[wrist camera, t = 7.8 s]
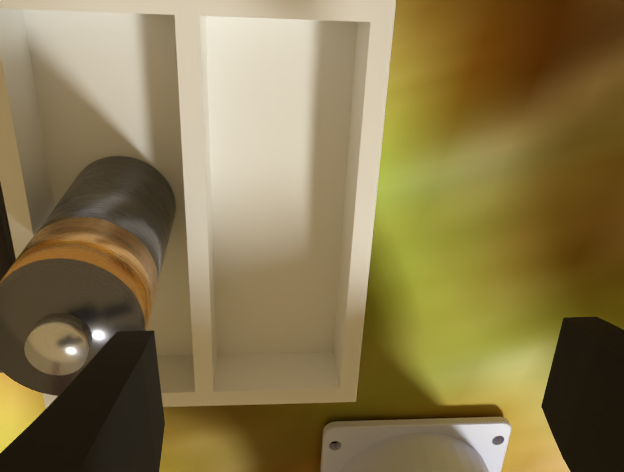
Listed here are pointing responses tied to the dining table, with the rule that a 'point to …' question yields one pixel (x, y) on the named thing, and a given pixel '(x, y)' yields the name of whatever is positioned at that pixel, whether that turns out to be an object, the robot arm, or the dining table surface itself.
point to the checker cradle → (5, 241)
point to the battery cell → (85, 273)
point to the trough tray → (217, 171)
